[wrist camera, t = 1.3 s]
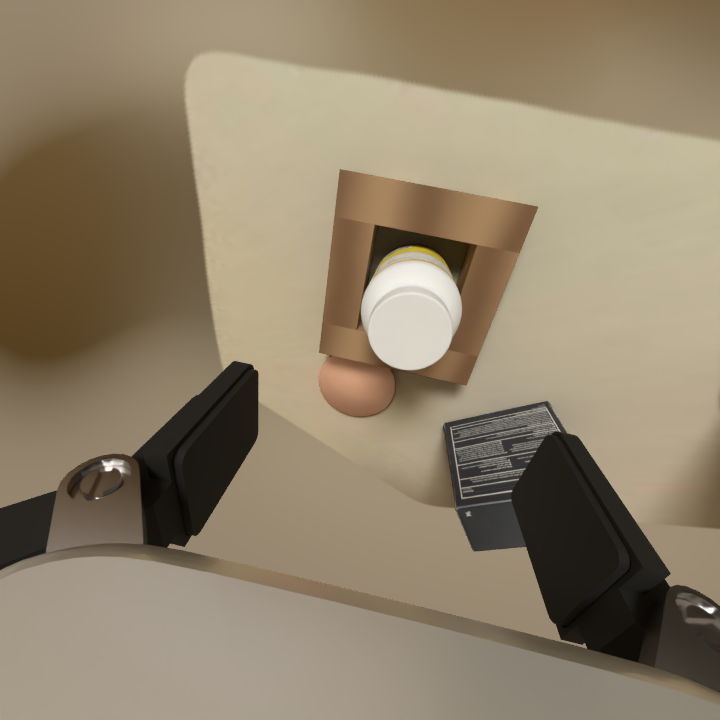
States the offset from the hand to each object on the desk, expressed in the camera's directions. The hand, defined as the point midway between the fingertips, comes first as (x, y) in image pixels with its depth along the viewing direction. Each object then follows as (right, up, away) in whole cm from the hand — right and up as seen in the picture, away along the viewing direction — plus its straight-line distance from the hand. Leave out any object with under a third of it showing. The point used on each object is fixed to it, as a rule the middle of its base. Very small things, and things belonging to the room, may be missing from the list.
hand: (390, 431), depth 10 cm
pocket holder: (+3, +9, +17) cm, 20 cm away
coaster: (-1, 0, +23) cm, 23 cm away
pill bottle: (+4, +9, +17) cm, 20 cm away
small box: (+14, -6, +23) cm, 28 cm away
